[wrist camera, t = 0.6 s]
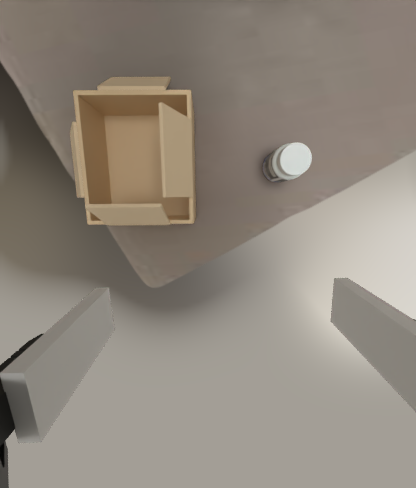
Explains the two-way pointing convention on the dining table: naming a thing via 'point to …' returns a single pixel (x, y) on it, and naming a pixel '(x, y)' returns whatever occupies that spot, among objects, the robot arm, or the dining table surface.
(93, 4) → the dining table surface
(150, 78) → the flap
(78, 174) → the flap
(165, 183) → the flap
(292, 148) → the pill bottle
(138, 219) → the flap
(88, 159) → the carton
